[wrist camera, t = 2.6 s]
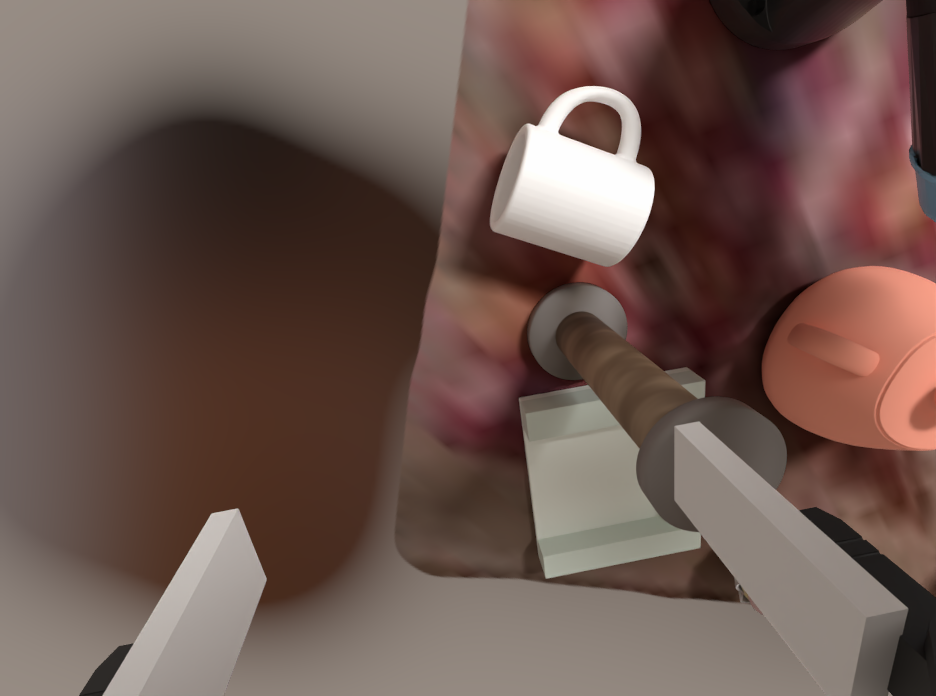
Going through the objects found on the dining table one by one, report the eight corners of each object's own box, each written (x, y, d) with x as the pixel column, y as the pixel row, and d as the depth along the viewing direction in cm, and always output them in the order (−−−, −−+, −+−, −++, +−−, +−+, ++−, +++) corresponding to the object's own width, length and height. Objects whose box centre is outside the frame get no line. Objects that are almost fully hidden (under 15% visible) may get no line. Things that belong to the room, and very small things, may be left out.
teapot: (980, 309, 49) (1175, 357, 36) (882, 446, 54) (1024, 530, 41) (783, 225, 44) (931, 247, 31) (695, 386, 49) (792, 461, 36)
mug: (589, 258, 43) (625, 276, 35) (483, 225, 41) (498, 237, 34) (643, 117, 39) (697, 104, 32) (531, 73, 37) (559, 49, 30)
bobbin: (619, 274, 44) (815, 375, 22) (622, 364, 47) (797, 529, 25) (521, 291, 43) (626, 410, 22) (532, 381, 46) (631, 562, 25)
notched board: (686, 367, 48) (705, 380, 45) (684, 526, 55) (700, 547, 52) (518, 397, 47) (525, 413, 44) (538, 555, 54) (545, 578, 51)
